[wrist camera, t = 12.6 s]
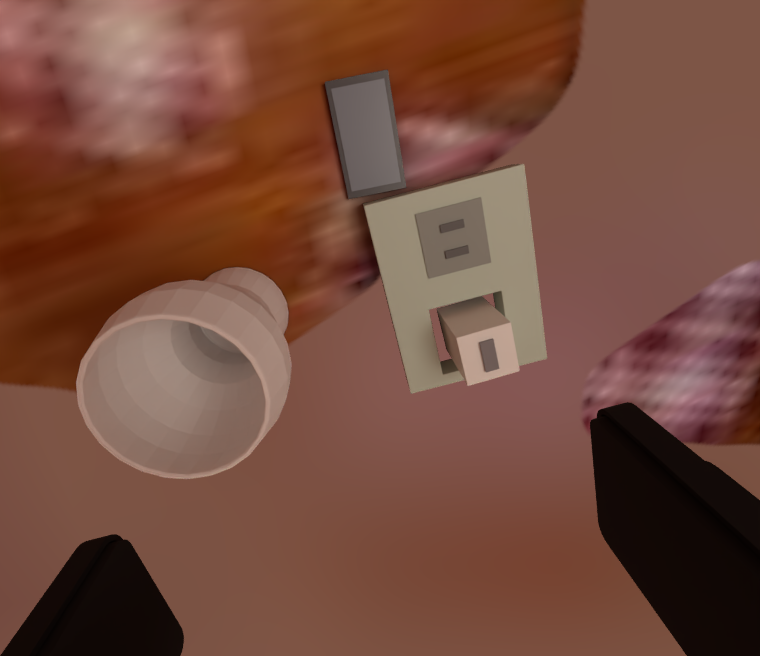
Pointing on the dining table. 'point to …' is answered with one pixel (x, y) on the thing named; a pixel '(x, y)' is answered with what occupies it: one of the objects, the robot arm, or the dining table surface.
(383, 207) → the outlet board
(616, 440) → the robot arm
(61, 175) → the dining table surface
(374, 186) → the phone
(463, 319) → the block
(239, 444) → the cup
